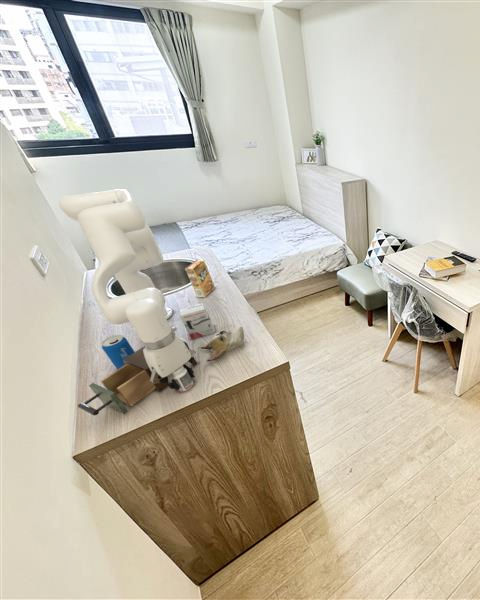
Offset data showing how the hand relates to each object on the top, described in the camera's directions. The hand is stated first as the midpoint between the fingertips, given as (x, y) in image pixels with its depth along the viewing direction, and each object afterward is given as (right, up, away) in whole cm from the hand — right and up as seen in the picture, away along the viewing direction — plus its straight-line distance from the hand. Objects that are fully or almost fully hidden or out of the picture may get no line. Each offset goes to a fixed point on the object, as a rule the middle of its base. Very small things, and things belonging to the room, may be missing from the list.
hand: (183, 381), depth 102 cm
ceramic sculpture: (+6, +8, +16) cm, 18 cm away
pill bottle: (0, -2, +1) cm, 2 cm away
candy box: (-23, +30, +50) cm, 63 cm away
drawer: (-14, -4, -4) cm, 16 cm away
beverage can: (-25, +3, +9) cm, 27 cm away
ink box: (-9, +13, +24) cm, 29 cm away
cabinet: (-9, +2, +6) cm, 11 cm away
